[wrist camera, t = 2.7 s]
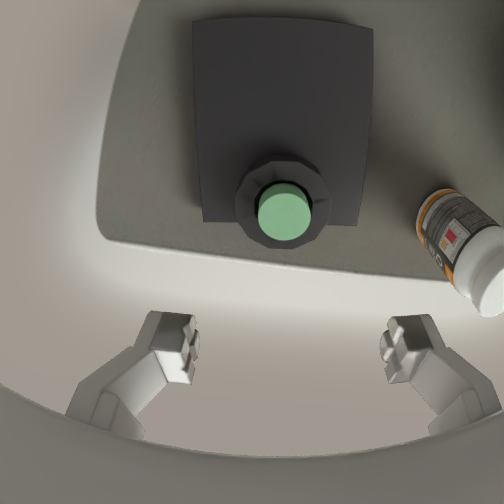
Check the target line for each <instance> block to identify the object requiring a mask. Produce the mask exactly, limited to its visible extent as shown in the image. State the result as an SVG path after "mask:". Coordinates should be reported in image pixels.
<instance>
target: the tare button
mask: <svg viewBox="0 0 504 504" xmlns="http://www.w3.org/2000/svg"><path fill="white" fill-rule="evenodd" d="M310 219H311V213H310V209H309V206H308V202H307V199H306V196H305V194H304V193H303V192H302V190H300V189H299V188H298V187H297V186H295V185H292V184H289V183H278V184H274V185H272V186H270V187H269V188H267V189H266V190H265V191H264V192H263V194H262V196H261V198H260V201H259V210H258V221H259V225H260V227H261V229H262V230H263V231H264V232H265V233H266V234H267V235H268V236H270V237H272V238H274V239H277V240H291V239H294V238H297V237H298V236H300V235H301V234H303V233H304V232H305V230H306V229H307V228H308V226H309V223H310Z"/></svg>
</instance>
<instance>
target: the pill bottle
mask: <svg viewBox="0 0 504 504" xmlns="http://www.w3.org/2000/svg"><path fill="white" fill-rule="evenodd" d="M416 231H417V235H418V237H419V239H420V241H421V242H422V244H423V245H424V246H425V248H426V249H427V250H428V252H429V253H430V254H431V256H432V257H433V258H434V259H435V261H436V262H437V263H438V265H439V266H440V268H441V269H442V270H443V272H444V273H445V275H446V276H447V278H448V279H449V280H450V282H451V283H452V285H453V286H454V287H455V289H456V290H457V292H458V293H459V294H461V295H462V296H464V297H467V298H472V302H473V304H474V305H475V307H476V309H477V310H478V311H479V313H480V314H481V315H482V316H483V317H494V316H496V315H498V314H500V313H502V312H503V311H504V229H503V228H502V227H501V226H500V225H499V224H498V223H496V222H495V221H494V220H493V219H492V218H491V217H489V216H488V215H487V214H486V213H485V212H483V211H482V210H481V209H480V208H479V207H477V206H476V205H475V204H474V203H473V202H471V201H470V200H469V199H467V198H466V197H465V196H463V195H462V194H460V193H459V192H457V191H456V190H453V189H441V190H438V191H436V192H434V193H433V194H431V195H430V196H429V197H428V198H427V199H426V200H425V202H424V203H423V204H422V206H421V208H420V210H419V212H418V216H417V220H416Z"/></svg>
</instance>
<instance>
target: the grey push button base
mask: <svg viewBox="0 0 504 504" xmlns="http://www.w3.org/2000/svg"><path fill="white" fill-rule="evenodd" d="M193 77H194V103H195V122H196V139H197V154H198V168H199V180H200V192H201V203H202V214H203V222H239V224H240V225H241V227H242V228H243V230H244V231H245V233H246V234H247V236H248V237H249V238H250V239H252V240H254V241H256V242H258V243H260V244H262V245H264V246H266V247H268V248H273V249H293V248H297V247H299V246H301V245H303V244H305V243H308V242H310V241H312V240H314V239H316V237H317V236H318V235H319V233H320V232H321V231H322V230H323V228H324V227H325V226H326V225H345V226H357V222H358V216H359V210H360V204H361V198H362V191H363V184H364V177H365V169H366V161H367V153H368V143H369V133H370V121H371V107H372V89H373V29H371V28H367V27H362V26H356V25H351V24H345V23H338V22H331V21H323V20H314V19H303V18H286V17H239V18H222V19H211V20H202V21H194V22H193ZM278 183H289V184H292V185H295V186H297V187H298V188H299V189H300V190H302V192H303V193H304V194H305V196H306V199H307V202H308V206H309V209H310V213H311V219H310V223H309V226H308V228H307V229H306V230H305V232H304V233H303V234H301V235H300V236H298V237H297V238H294V239H291V240H277V239H274V238H272V237H270V236H268V235H267V234H266V233H265V232H264V231H263V230H262V229H261V227H260V225H259V221H258V210H259V201H260V198H261V196H262V194H263V192H264V191H265V190H266V189H267V188H269V187H270V186H272V185H274V184H278Z"/></svg>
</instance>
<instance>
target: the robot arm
mask: <svg viewBox="0 0 504 504" xmlns="http://www.w3.org/2000/svg"><path fill="white" fill-rule="evenodd" d="M195 326H196V319H195V316H194V315H190V314H180V313H171V312H160V311H150V312H149V313H148V314H147V317H146V319H145V321H144V324H143V326H142V328H141V331H140V332H139V335H138V337H137V339H136V342H135V344H134V347H128V348H127V349H125V350H124V351H122V352H121V353H120V354H118V355H117V356H116V357H114V358H113V359H111V360H110V361H109V362H107V363H106V364H104V365H103V366H102V367H100V368H99V369H98V370H96V371H95V372H93V373H92V374H91V375H89V376H88V377H87V378H85V379H84V380H82V381H81V382H80V383H79V384H78V386H77V388H76V391H75V393H74V395H73V398H72V400H71V402H70V404H69V407H68V409H67V411H66V414H65V415H63V414H60V413H58V412H56V411H53V410H51V409H49V408H47V407H44V406H42V405H40V404H38V403H36V402H34V401H32V400H30V399H28V398H25V397H24V396H22V395H20V394H18V393H16V392H14V391H12V390H10V389H9V388H7V387H5V386H3V385H2V384H0V504H504V409H502V407H501V405H500V402H499V399H498V397H497V394H496V392H495V389H494V387H493V384H492V382H491V381H490V380H489V379H488V378H487V377H485V376H484V375H483V374H482V373H481V372H479V371H478V370H477V369H476V368H474V367H473V366H472V365H471V364H470V363H468V362H467V361H466V360H465V359H463V358H462V357H461V356H460V355H458V354H457V353H456V352H455V351H453V350H452V349H451V348H450V347H448V348H446V346H445V344H444V342H443V340H442V338H441V336H440V333H439V332H438V329H437V327H436V326H435V323H434V321H433V319H432V317H431V316H430V315H429V314H422V315H409V316H395V317H391V318H390V319H389V321H388V323H387V326H388V330H387V331H385V332H384V333H383V335H382V337H381V340H380V354H381V357H382V359H383V360H384V361H385V362H386V363H387V365H386V367H385V372H386V375H387V379H388V382H389V384H393V383H402V382H409V383H410V384H411V385H412V387H413V388H414V389H415V390H416V391H417V392H418V393H419V394H420V396H422V398H423V399H424V400H425V401H426V402H427V404H428V405H429V406H430V407H431V408H432V409H433V410H434V412H435V413H436V414H437V415H438V417H436V418H435V420H433V421H432V422H431V423H430V424H429V426H428V429H429V433H430V436H429V437H425V438H421V439H417V440H413V441H409V442H405V443H400V444H396V445H391V446H386V447H381V448H375V449H368V450H362V451H355V452H346V453H338V454H326V455H312V456H247V455H232V454H222V453H212V452H204V451H197V450H190V449H183V448H178V447H172V446H166V445H162V444H157V443H153V442H148V441H144V440H143V437H144V433H145V429H144V428H143V427H142V425H141V424H140V423H139V422H138V421H137V419H136V418H135V416H136V415H137V414H138V413H139V412H140V411H141V410H142V409H143V408H144V407H145V406H146V405H147V404H148V403H149V402H150V401H151V400H152V399H153V398H154V396H156V395H157V394H158V393H159V392H160V391H161V390H162V388H163V387H164V386H165V385H166V384H167V382H171V383H181V384H190V385H191V384H192V380H193V376H194V371H195V366H194V363H193V361H195V360H196V359H197V358H198V354H199V345H200V341H199V333H198V331H197V330H196V329H195Z"/></svg>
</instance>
